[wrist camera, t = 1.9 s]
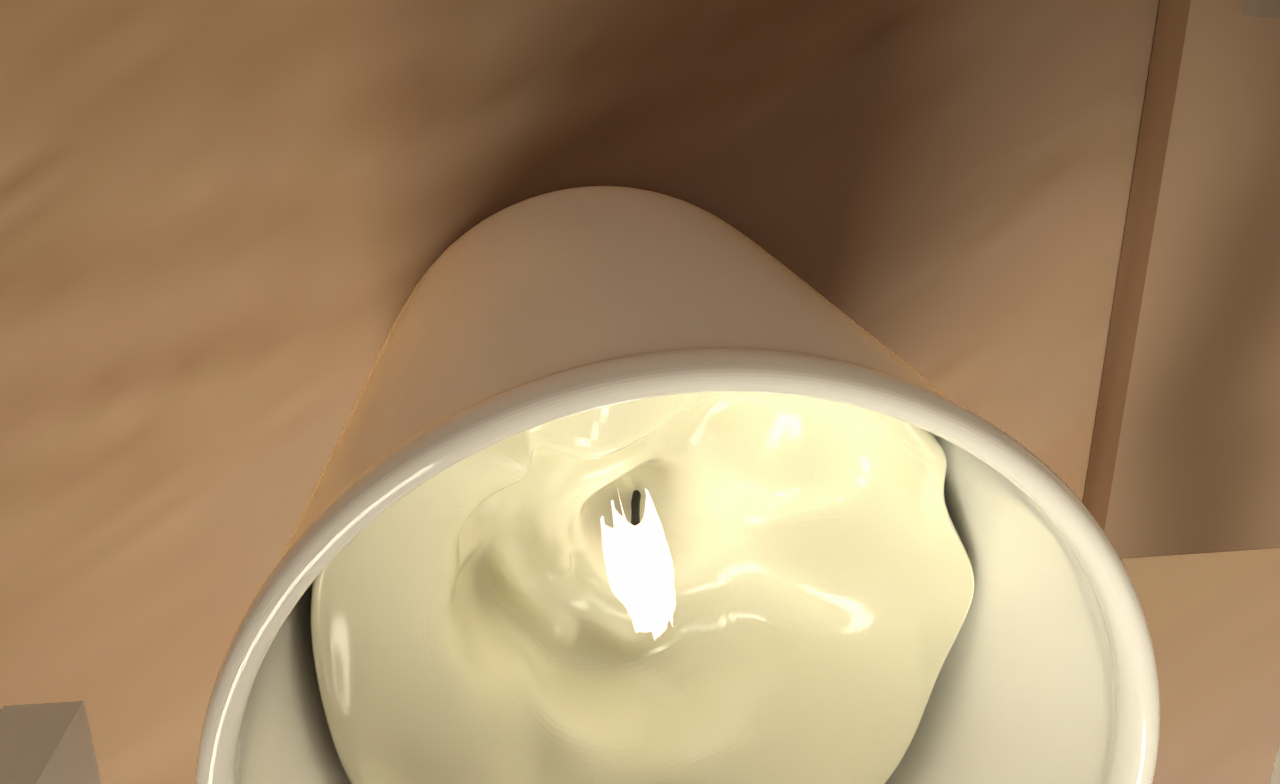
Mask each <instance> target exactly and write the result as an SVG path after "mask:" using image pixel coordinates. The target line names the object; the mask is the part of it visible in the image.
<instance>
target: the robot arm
mask: <svg viewBox="0 0 1280 784" xmlns="http://www.w3.org/2000/svg"><path fill="white" fill-rule="evenodd" d="M0 784H102V783H101V779H100V774H99V770H98V765H97V760H96V756H95V751H94V747H93V742H92V738H91V733H90V729H89V724H88V720H87V715H86V711H85V706H84V702H83V701H75V702H60V703H44V704H28V705H13V706H4V707H3V708H2V710H1V711H0ZM1270 784H1280V744H1279V748H1278V752H1277V756H1276V760H1275V764H1274V768H1273V772H1272V777H1271V781H1270Z"/></svg>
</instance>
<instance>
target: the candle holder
mask: <svg viewBox="0 0 1280 784" xmlns="http://www.w3.org/2000/svg"><path fill="white" fill-rule="evenodd" d="M1159 732H1160V694H1159V682H1158V673H1157V665H1156V659H1155V653H1154V648H1153V643H1152V639H1151V635H1150V631H1149V627H1148V624H1147V621H1146V617H1145V614H1144V611H1143V608H1142V606H1141V603H1140V600H1139V598H1138V595H1137V593H1136V590H1135V588H1134V585H1133V583H1132V581H1131V579H1130V576H1129V574H1128V572H1127V570H1126V568H1125V566H1124V564H1123V562H1122V561H1121V559H1120V557H1119V555H1118V553H1117V552H1116V550H1115V548H1114V547H1113V545H1112V543H1111V542H1110V540H1109V539H1108V537H1107V535H1106V534H1105V532H1104V531H1103V529H1102V528H1101V527H1100V525H1099V524H1098V522H1097V521H1096V520H1095V518H1094V517H1093V516H1092V514H1091V513H1090V512H1089V510H1088V509H1087V508H1086V507H1085V505H1084V504H1083V503H1082V502H1081V501H1080V499H1079V498H1078V497H1077V496H1076V495H1075V494H1074V493H1073V491H1072V490H1071V489H1070V488H1069V487H1068V486H1067V485H1066V484H1065V483H1064V482H1063V481H1062V480H1061V479H1060V478H1059V477H1058V476H1057V475H1056V474H1055V473H1054V472H1053V471H1052V470H1051V469H1050V468H1049V467H1048V466H1047V465H1046V464H1045V463H1043V462H1042V461H1041V460H1040V459H1039V458H1038V457H1037V456H1035V455H1034V454H1033V453H1032V452H1031V451H1029V450H1028V449H1027V448H1026V447H1024V446H1023V445H1022V444H1020V443H1019V442H1018V441H1017V440H1015V439H1014V438H1012V437H1011V436H1010V435H1008V434H1007V433H1006V432H1004V431H1003V430H1001V429H1000V428H998V427H997V426H995V425H994V424H992V423H991V422H989V421H987V420H986V419H984V418H983V417H981V416H979V415H978V414H976V413H974V412H972V411H971V410H969V409H967V408H965V407H964V406H962V405H960V404H958V403H956V402H955V401H954V400H952V399H951V398H950V397H948V396H947V395H946V394H945V393H943V392H942V391H941V390H940V389H938V388H937V387H936V386H935V385H933V384H932V383H931V382H930V381H928V380H927V379H926V378H925V377H923V376H922V375H921V374H920V373H918V372H917V371H916V370H915V369H913V368H912V367H911V366H910V365H908V364H907V363H906V362H905V361H903V360H902V359H901V358H900V357H898V356H897V355H896V354H895V353H893V352H892V351H891V350H890V349H888V348H887V347H886V346H885V345H883V344H882V343H881V342H880V341H878V340H877V339H876V338H875V337H873V336H872V335H871V334H870V333H868V332H867V331H866V330H865V329H863V328H862V327H861V326H860V325H858V324H857V323H856V322H855V321H853V320H852V319H851V318H850V317H848V316H847V315H846V314H845V313H843V312H842V311H841V310H840V309H838V308H837V307H836V306H835V305H833V304H832V303H831V302H830V301H828V300H827V299H826V298H825V297H823V296H822V295H821V294H820V293H818V292H817V291H816V290H815V289H813V288H812V287H811V286H810V285H808V284H807V283H806V282H805V281H803V280H802V279H801V278H800V277H798V276H797V275H796V274H795V273H793V272H792V271H791V270H790V269H788V268H787V267H786V266H785V265H783V264H782V263H781V262H779V261H778V260H777V259H776V258H774V257H773V256H772V255H770V254H769V253H768V252H767V251H765V250H764V249H763V248H761V247H760V246H759V245H758V244H756V243H755V242H754V241H752V240H751V239H750V238H748V237H747V236H745V235H744V234H743V233H741V232H740V231H738V230H737V229H736V228H734V227H733V226H731V225H730V224H728V223H726V222H725V221H723V220H722V219H720V218H718V217H717V216H715V215H713V214H711V213H709V212H707V211H706V210H703V209H701V208H699V207H697V206H695V205H693V204H690V203H688V202H686V201H683V200H680V199H677V198H675V197H671V196H668V195H665V194H661V193H657V192H653V191H648V190H643V189H637V188H630V187H620V186H588V187H577V188H569V189H563V190H558V191H554V192H549V193H545V194H542V195H538V196H535V197H532V198H529V199H526V200H524V201H521V202H518V203H516V204H514V205H511V206H509V207H507V208H505V209H503V210H501V211H499V212H497V213H495V214H493V215H491V216H490V217H488V218H486V219H485V220H483V221H482V222H480V223H478V224H477V225H475V226H474V227H473V228H471V229H470V230H468V231H467V232H466V233H465V234H463V235H462V236H461V237H460V238H458V239H457V240H456V241H455V242H454V243H453V244H451V245H450V246H449V247H448V248H447V249H446V250H445V251H444V252H443V253H442V254H441V255H440V256H439V257H438V258H437V259H436V261H435V262H434V263H433V264H432V265H431V266H430V268H429V269H428V270H427V271H426V273H425V274H424V275H423V276H422V278H421V279H420V281H419V282H418V283H417V285H416V286H415V288H414V289H413V291H412V292H411V294H410V296H409V297H408V299H407V301H406V302H405V304H404V306H403V308H402V309H401V311H400V313H399V315H398V317H397V319H396V320H395V322H394V324H393V326H392V328H391V330H390V332H389V334H388V336H387V338H386V340H385V342H384V344H383V346H382V348H381V350H380V352H379V354H378V356H377V358H376V361H375V363H374V365H373V367H372V369H371V371H370V373H369V375H368V377H367V379H366V381H365V383H364V385H363V387H362V390H361V392H360V394H359V396H358V398H357V400H356V402H355V404H354V406H353V408H352V410H351V412H350V415H349V417H348V419H347V421H346V423H345V425H344V427H343V429H342V431H341V433H340V435H339V438H338V440H337V442H336V444H335V446H334V448H333V450H332V452H331V454H330V456H329V458H328V461H327V463H326V465H325V467H324V469H323V471H322V473H321V475H320V477H319V479H318V481H317V484H316V486H315V488H314V490H313V492H312V494H311V496H310V498H309V500H308V502H307V504H306V506H305V509H304V511H303V513H302V515H301V517H300V519H299V521H298V523H297V525H296V527H295V529H294V532H293V534H292V536H291V538H290V540H289V542H288V544H287V546H286V548H285V550H284V552H283V554H282V557H281V559H280V561H279V563H278V564H277V565H276V567H275V568H274V569H273V571H272V572H271V574H270V575H269V576H268V578H267V579H266V581H265V582H264V584H263V585H262V587H261V588H260V590H259V592H258V593H257V595H256V596H255V598H254V600H253V601H252V603H251V605H250V606H249V608H248V610H247V612H246V614H245V615H244V617H243V619H242V621H241V623H240V625H239V627H238V629H237V631H236V633H235V635H234V637H233V639H232V641H231V643H230V645H229V648H228V650H227V652H226V655H225V657H224V659H223V662H222V664H221V667H220V670H219V672H218V675H217V678H216V681H215V684H214V687H213V690H212V693H211V696H210V700H209V703H208V707H207V711H206V715H205V719H204V723H203V728H202V733H201V739H200V745H199V751H198V760H197V769H196V784H1152V783H1153V778H1154V773H1155V767H1156V761H1157V754H1158V745H1159Z"/></svg>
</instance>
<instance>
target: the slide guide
mask: <svg viewBox="0 0 1280 784" xmlns="http://www.w3.org/2000/svg"><path fill="white" fill-rule="evenodd" d="M1083 504H1084V505H1085V507H1086V508H1087V509H1088V510H1089V512H1090V513H1091V514H1092V516H1093V517H1094V518H1095V520H1096V521H1097V522H1098V524H1099V525H1100V527H1101V528H1102V529H1103V531H1104V532H1105V534H1106V535H1107V537H1108V539H1109V540H1110V542H1111V543H1112V545H1113V547H1114V548H1115V550H1116V552H1117V553H1118V555H1119V557H1120V559H1123V558H1138V557H1153V556H1168V555H1182V554H1197V553H1212V552H1227V551H1242V550H1257V549H1272V548H1280V0H1160V3H1159V10H1158V16H1157V23H1156V29H1155V36H1154V42H1153V49H1152V55H1151V62H1150V68H1149V75H1148V81H1147V88H1146V94H1145V101H1144V107H1143V114H1142V120H1141V127H1140V133H1139V140H1138V146H1137V153H1136V159H1135V166H1134V173H1133V179H1132V186H1131V192H1130V199H1129V205H1128V212H1127V218H1126V225H1125V231H1124V238H1123V244H1122V251H1121V257H1120V264H1119V270H1118V277H1117V283H1116V290H1115V296H1114V303H1113V309H1112V316H1111V322H1110V329H1109V335H1108V342H1107V348H1106V355H1105V361H1104V368H1103V374H1102V381H1101V387H1100V394H1099V400H1098V407H1097V413H1096V420H1095V426H1094V433H1093V439H1092V446H1091V452H1090V459H1089V465H1088V472H1087V478H1086V485H1085V492H1084V498H1083Z"/></svg>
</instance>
